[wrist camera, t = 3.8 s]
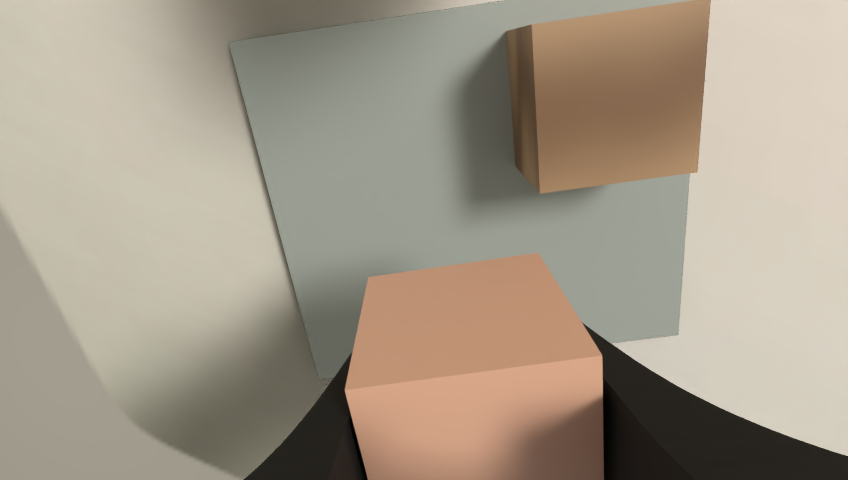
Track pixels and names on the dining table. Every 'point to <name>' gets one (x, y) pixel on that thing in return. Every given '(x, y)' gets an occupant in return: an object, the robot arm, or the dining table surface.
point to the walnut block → (609, 96)
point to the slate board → (441, 172)
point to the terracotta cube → (475, 376)
